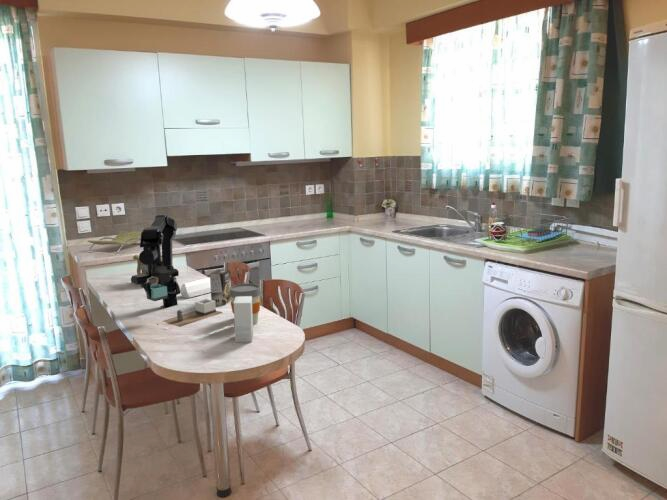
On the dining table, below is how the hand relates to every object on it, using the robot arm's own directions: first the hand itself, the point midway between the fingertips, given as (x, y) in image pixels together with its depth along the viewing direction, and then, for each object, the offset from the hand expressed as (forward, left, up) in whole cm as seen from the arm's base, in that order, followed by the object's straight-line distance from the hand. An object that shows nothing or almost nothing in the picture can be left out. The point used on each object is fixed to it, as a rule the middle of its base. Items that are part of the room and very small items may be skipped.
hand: (157, 296), depth 219 cm
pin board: (+11, +9, -11) cm, 18 cm away
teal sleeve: (0, 0, -1) cm, 1 cm away
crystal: (-20, +39, -12) cm, 45 cm away
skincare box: (+45, +7, -11) cm, 47 cm away
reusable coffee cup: (+32, +20, -11) cm, 39 cm away
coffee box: (+5, +30, -11) cm, 32 cm away
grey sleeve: (+11, +16, -10) cm, 21 cm away
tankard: (-59, +34, -11) cm, 69 cm away
